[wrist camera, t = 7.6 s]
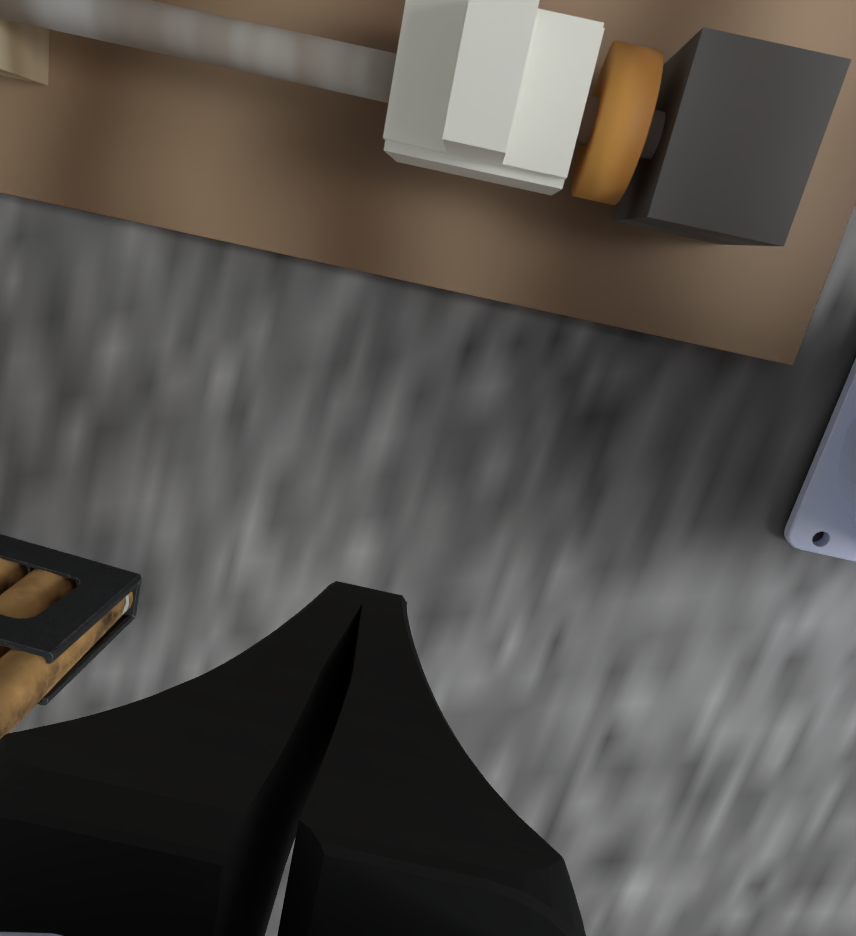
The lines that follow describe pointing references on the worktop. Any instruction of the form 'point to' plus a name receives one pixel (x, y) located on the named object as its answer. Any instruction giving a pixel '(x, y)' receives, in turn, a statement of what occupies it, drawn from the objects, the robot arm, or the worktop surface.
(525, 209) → the rail board
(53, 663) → the ammunition clip
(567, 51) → the white slotted bracket
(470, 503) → the worktop surface
